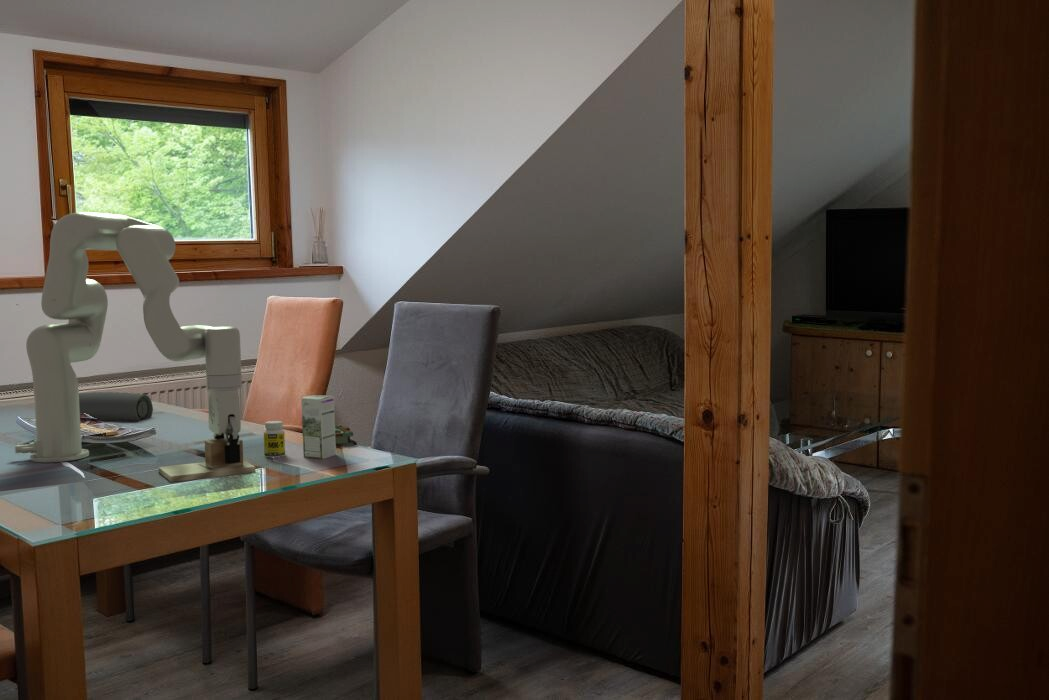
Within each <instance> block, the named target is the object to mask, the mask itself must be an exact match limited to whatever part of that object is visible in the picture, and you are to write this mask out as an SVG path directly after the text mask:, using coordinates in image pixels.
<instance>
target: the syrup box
mask: <svg viewBox="0 0 1049 700" xmlns="http://www.w3.org/2000/svg"><path fill="white" fill-rule="evenodd" d="M300 400H301V401H300V403H301V422H302V423H301V424H302V428H301V429H302V445H303V447H302V449H303V451H302V452H303V458H306V457H309V458H308V459H319V460H320V459H321V460H324V459H327V458H331V457H333V456H336V455H337V446H336V442H335V426H336V421H335V419H336V418H335V417H336V416H335V415H336V414H335V410H336V409H335V396H334V395H323V394H322V395H321V394H320V395H319V394H311V395H306V396H304V397H301V399H300Z"/></svg>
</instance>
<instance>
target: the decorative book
mask: <svg viewBox="0 0 1049 700" xmlns="http://www.w3.org/2000/svg"><path fill="white" fill-rule="evenodd" d="M353 436H354V431H352V430H351V429H350V427H348V426H344V425H343V424H341V423H340V424H338V425H335V442H336V448H338V449H340V450H343V448H342V447H343V446H353V445H355V444H354V442H353V441H351V437H353ZM349 449H351V448H350V447H349Z"/></svg>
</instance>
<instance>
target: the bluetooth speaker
mask: <svg viewBox="0 0 1049 700" xmlns="http://www.w3.org/2000/svg"><path fill="white" fill-rule="evenodd" d="M153 406H154V405H153V403H152V400H151V398H150V397H149V395H147V394H143V393H134V392H133V393H130V392H129V393H128V392H119V391H118V392H117V391H116V392H112V391H108V392H107V391H105V392H103V391H101V392H100V391H98V392H97V391H96V392H79V408H80V413H86V414H89V415H90V416H92V417H94V418H97V419H100V420H99V421H126V422H127V421H128V422H130V421H131V422H133V421H134V422H139V421H140V422H141V420H142V419H151V418H152V416H153V412H154V407H153Z"/></svg>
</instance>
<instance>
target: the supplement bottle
mask: <svg viewBox="0 0 1049 700" xmlns="http://www.w3.org/2000/svg"><path fill="white" fill-rule="evenodd" d="M264 425H265V426H264V428H265V430H264V431H263V447H264V448H263V450H264V452H263V453H264V457H265V456H266V457H265V458H268V457H277V458H281V457H280V456H283V457H285V456H284V455H286V449H285V448H286V445H285V442H286V439H285V430H284V429H283V427H284V425H283V421H281V420H270V421H266V422H264Z"/></svg>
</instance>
